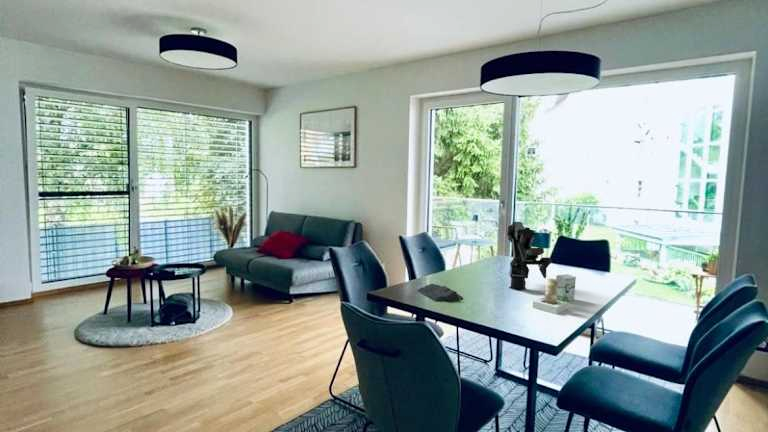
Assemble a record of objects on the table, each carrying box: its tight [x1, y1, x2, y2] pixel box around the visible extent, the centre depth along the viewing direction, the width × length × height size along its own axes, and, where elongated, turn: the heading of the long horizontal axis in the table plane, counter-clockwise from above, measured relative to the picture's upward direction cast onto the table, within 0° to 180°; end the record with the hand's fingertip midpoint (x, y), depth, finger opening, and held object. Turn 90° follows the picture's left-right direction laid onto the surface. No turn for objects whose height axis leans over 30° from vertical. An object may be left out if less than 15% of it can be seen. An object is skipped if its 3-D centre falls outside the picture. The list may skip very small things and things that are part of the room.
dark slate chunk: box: [417, 283, 464, 303], centre depth 206 cm, size 15×22×5 cm
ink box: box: [555, 274, 577, 302], centre depth 204 cm, size 9×5×12 cm, turn 120°
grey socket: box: [532, 296, 569, 315], centre depth 190 cm, size 11×11×3 cm
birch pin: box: [544, 278, 558, 305], centre depth 190 cm, size 5×5×13 cm
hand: (536, 278), depth 199 cm, fingers open, 9 cm apart
